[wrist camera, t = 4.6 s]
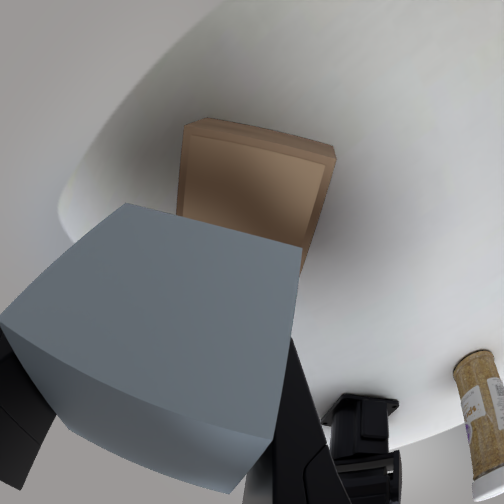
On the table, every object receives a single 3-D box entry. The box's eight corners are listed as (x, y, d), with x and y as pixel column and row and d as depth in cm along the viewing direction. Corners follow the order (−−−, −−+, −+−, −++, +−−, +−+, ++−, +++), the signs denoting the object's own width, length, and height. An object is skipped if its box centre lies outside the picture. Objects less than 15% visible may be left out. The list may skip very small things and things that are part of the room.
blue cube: (262, 363, 10) (229, 494, 6) (134, 323, 11) (69, 429, 7) (302, 248, 8) (272, 440, 3) (125, 202, 8) (-4, 318, 4)
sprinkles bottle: (447, 365, 21) (469, 502, 10) (489, 341, 19) (527, 476, 8) (458, 384, 23) (476, 504, 11) (496, 363, 20) (525, 482, 9)
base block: (300, 254, 19) (296, 284, 16) (193, 226, 19) (173, 250, 17) (333, 145, 15) (336, 159, 12) (206, 117, 15) (183, 125, 13)
